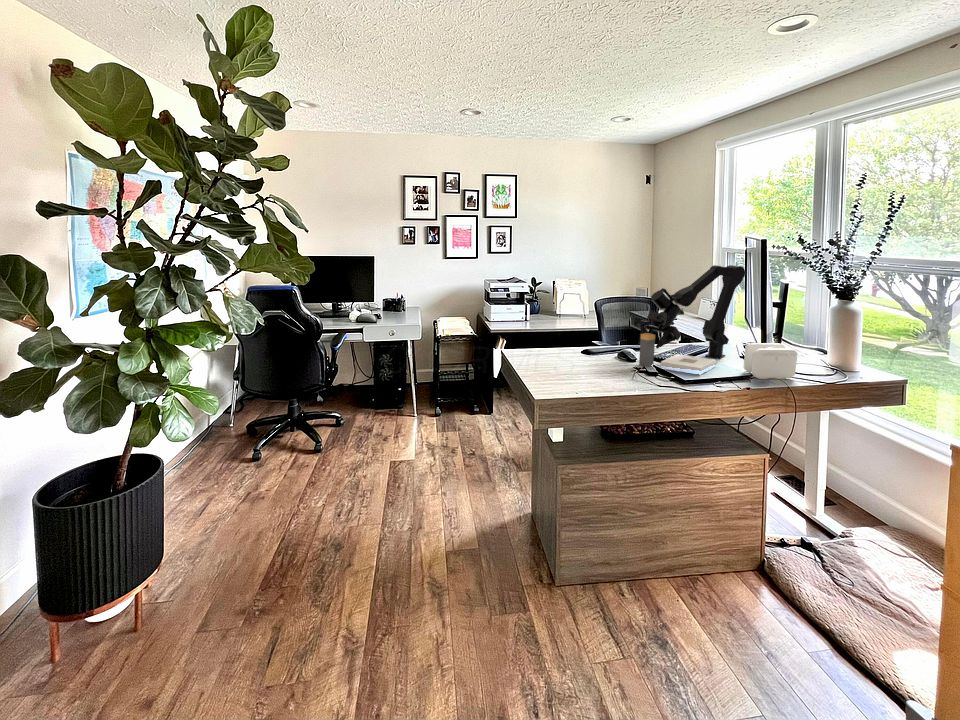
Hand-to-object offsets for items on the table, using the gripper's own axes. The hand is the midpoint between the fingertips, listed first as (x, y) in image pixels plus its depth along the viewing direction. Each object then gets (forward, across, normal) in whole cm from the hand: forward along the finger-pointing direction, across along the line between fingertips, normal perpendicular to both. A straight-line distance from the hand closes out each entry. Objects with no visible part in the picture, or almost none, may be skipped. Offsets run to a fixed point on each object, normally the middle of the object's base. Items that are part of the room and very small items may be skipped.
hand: (647, 345), depth 229 cm
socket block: (-1, +13, +13) cm, 18 cm away
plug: (+6, 0, +6) cm, 8 cm away
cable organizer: (-12, +37, +23) cm, 46 cm away
